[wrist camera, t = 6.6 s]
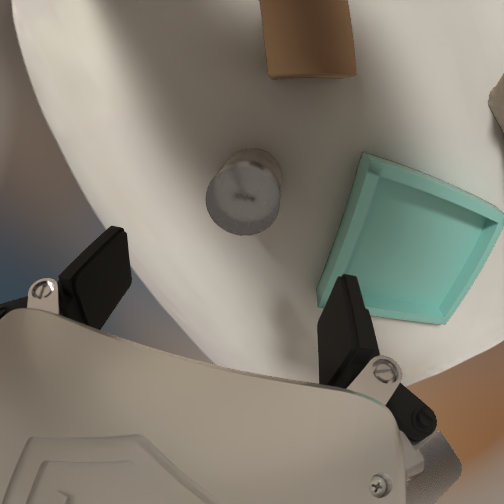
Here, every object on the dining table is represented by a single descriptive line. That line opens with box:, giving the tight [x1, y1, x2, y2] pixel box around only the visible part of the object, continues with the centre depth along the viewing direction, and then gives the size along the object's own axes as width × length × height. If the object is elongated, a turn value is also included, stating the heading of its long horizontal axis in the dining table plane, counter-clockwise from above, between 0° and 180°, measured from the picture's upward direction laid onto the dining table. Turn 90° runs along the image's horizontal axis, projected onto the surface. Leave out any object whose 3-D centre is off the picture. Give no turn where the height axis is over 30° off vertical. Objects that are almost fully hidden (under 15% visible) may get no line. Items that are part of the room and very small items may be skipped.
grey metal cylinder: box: [206, 148, 282, 235], centre depth 19 cm, size 5×5×6 cm
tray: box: [316, 152, 504, 325], centre depth 22 cm, size 16×14×2 cm
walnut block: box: [259, 0, 356, 79], centre depth 13 cm, size 5×5×5 cm
